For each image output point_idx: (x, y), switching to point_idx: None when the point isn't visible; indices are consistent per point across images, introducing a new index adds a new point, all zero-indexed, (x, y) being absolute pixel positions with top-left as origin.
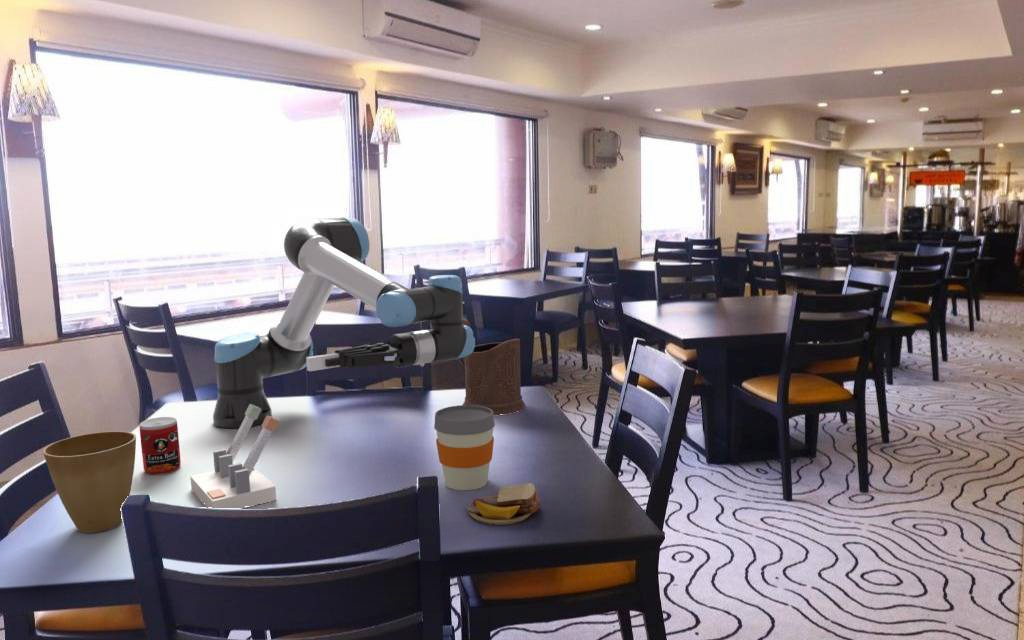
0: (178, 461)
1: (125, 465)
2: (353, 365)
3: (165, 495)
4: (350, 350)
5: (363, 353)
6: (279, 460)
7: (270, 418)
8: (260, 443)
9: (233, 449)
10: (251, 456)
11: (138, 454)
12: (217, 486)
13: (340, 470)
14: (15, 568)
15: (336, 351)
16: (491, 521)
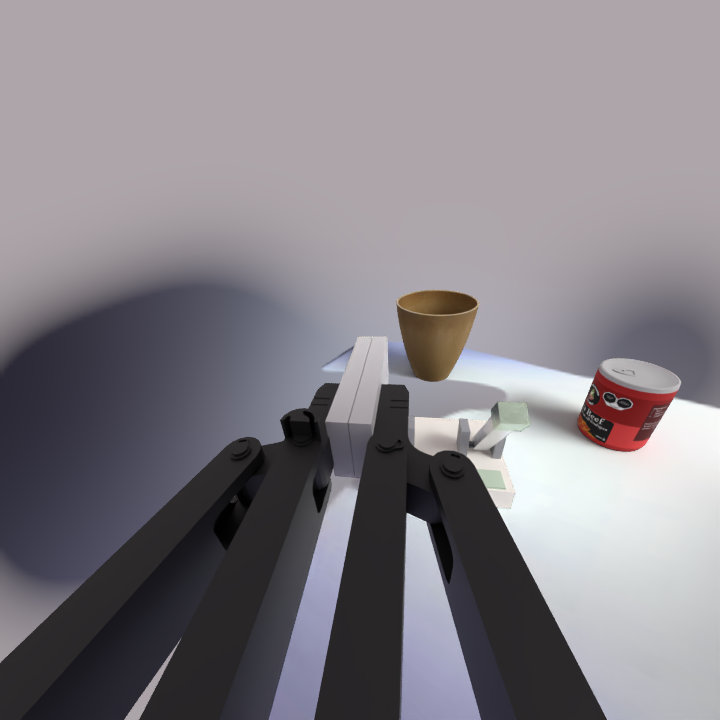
0: (605, 438)
1: (407, 329)
2: (232, 500)
3: (482, 414)
4: (478, 617)
5: (201, 608)
6: (613, 609)
7: None
8: None
9: (478, 433)
10: None
11: (710, 427)
12: (425, 430)
13: (447, 716)
14: (388, 343)
15: (441, 456)
16: None
